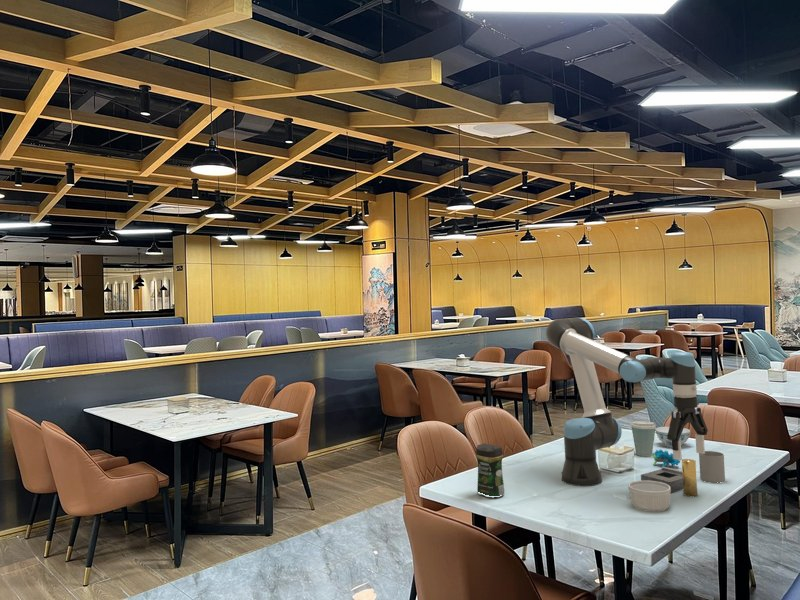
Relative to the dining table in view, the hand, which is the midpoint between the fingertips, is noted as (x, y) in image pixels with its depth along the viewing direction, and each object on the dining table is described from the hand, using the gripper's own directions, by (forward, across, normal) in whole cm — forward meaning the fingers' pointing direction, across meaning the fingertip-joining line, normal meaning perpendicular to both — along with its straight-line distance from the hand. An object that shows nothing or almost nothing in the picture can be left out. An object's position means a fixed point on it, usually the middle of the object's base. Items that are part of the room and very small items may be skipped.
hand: (689, 456), depth 205 cm
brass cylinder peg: (+14, 0, 0) cm, 14 cm away
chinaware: (+13, +59, +47) cm, 76 cm away
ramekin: (+14, -21, +2) cm, 25 cm away
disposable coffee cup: (+13, +35, +44) cm, 58 cm away
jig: (+13, +3, +12) cm, 18 cm away
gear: (+14, +26, +28) cm, 40 cm away
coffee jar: (+13, -55, +44) cm, 71 cm away
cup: (+14, +22, +6) cm, 26 cm away
